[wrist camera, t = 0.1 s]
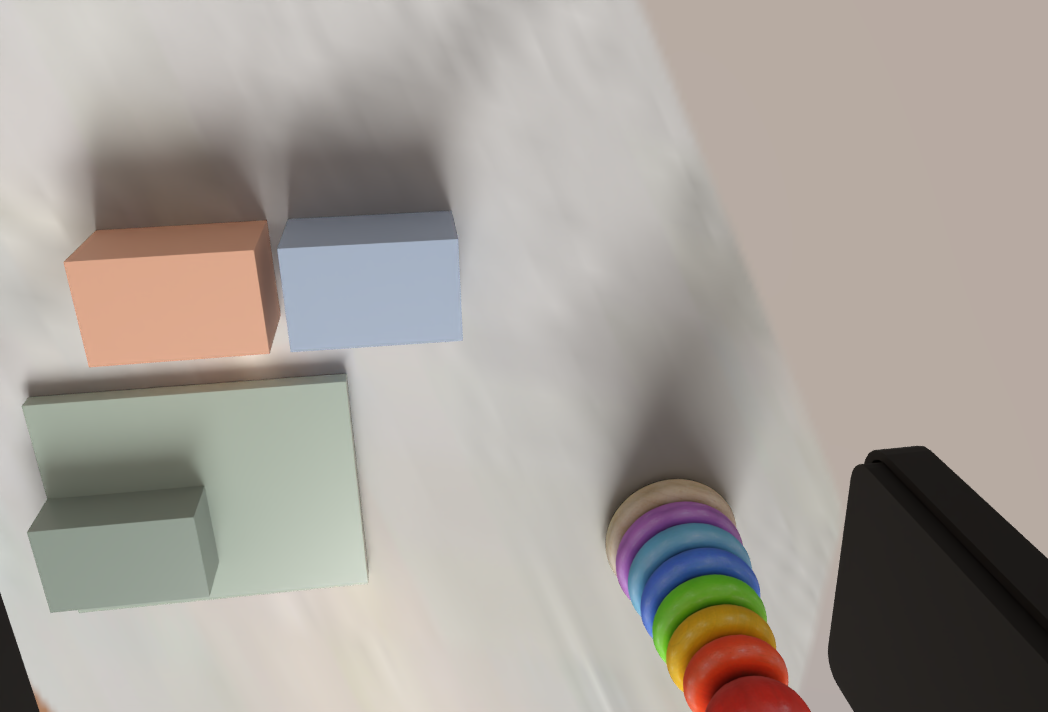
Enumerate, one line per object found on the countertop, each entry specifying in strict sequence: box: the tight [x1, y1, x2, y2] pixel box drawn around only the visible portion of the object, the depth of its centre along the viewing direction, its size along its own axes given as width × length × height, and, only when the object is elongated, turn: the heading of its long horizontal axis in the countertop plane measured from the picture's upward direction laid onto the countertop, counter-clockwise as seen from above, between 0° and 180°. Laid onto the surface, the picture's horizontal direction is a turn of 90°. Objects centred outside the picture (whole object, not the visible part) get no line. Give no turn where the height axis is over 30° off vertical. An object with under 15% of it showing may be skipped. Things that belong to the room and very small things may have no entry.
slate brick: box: [277, 211, 463, 352], centre depth 44 cm, size 5×8×5 cm, turn 91°
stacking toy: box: [606, 479, 811, 712], centre depth 47 cm, size 8×8×19 cm
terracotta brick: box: [64, 220, 281, 367], centre depth 43 cm, size 5×8×5 cm, turn 91°
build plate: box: [22, 374, 368, 613], centre depth 48 cm, size 13×16×4 cm
